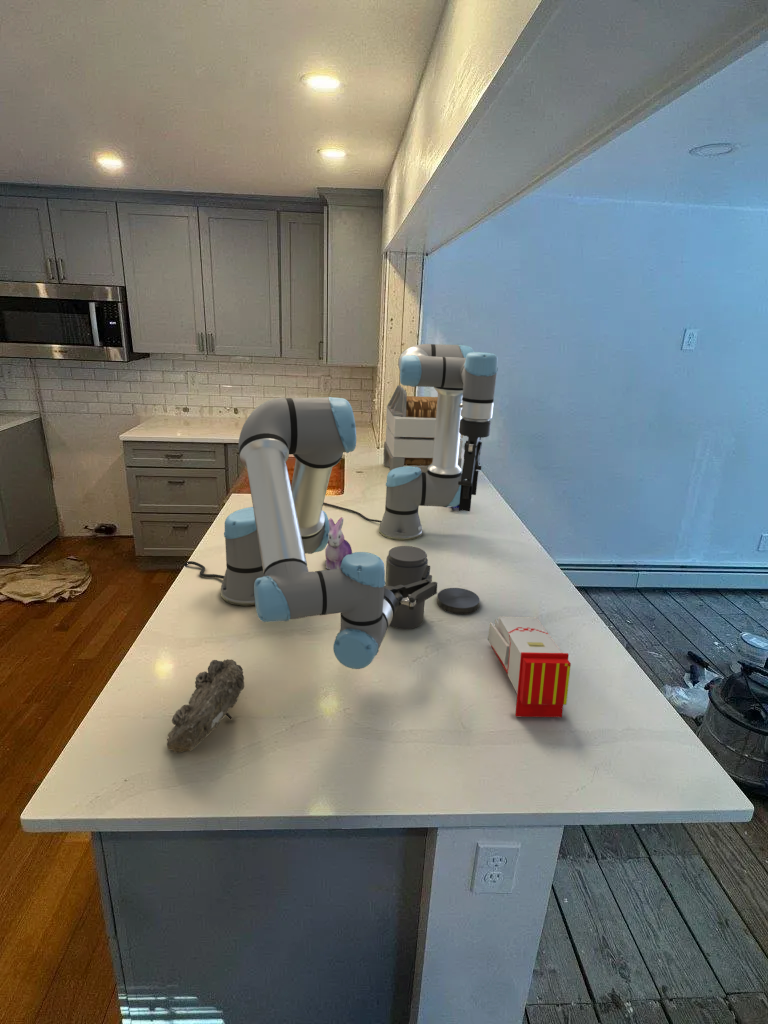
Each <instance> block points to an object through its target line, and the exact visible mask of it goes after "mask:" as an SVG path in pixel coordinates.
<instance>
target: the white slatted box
mask: <svg viewBox="0 0 768 1024" xmlns="http://www.w3.org/2000/svg"><path fill="white" fill-rule="evenodd" d="M407 394H408V393H407V390H406V389H404V388H403V387H402V385H399V384H398V385H397V386H396V388H395V390H394V392H393V394H392V395H391V398H390V400H389V402H388V404H387V405H386V413H385V414H386V415H385V423H386V428H385V438H384V442H383V466H384V467H388V468H389V472H390V471H391V470H392V469H395V468H398V467H405V466H413V467H428V466H429V465H430V464H432V462H433V450H434V437H435V424H436V411H437V398H438V396H415V395H414V396H413V395H412V396H411V395H407ZM463 438H464V436H463V435H461V434H460V444H459V455H458V466H459V467H460V468H461V469H462V461H463V460H462V453H463V442H464V441H463V440H462V439H463Z"/></svg>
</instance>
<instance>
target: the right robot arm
mask: <svg viewBox="0 0 768 1024" xmlns="http://www.w3.org/2000/svg"><path fill="white" fill-rule="evenodd" d="M498 361H499V357H498V356H497V354H495V353H492V352H481V351H480V352H479V351H475V350H474V349H473V347H471V346H469V345H463V344H440V343H439V344H438V343H437V344H436V343H435V344H434V343H421V344H420V343H419V344H416V345H413V346H409V347H407V348H406V349H405V350H403V351H402V352H401V353H400V355H399V357H398V363H397V366H398V369H399V382H400V384H401V386H407V387H412V388H413V387H414V388H415V387H419V388H420V387H421V388H422V387H425V388H429V387H430V388H433V389H434V390H435V391H436V393H437V397H438V398H437V411H436V424H435V437H434V450H433V462H432V464H430V465H428V466H427V471H426V472H424V471H423V472H422V469H421V468H420V467H419V466H407V465H404V467H398V468H395V469H392V470H391V471H390V470H389V471H388V473H387V475H386V482H385V487H386V488H385V489H386V490H385V504H384V505H385V507H384V508H385V509H384V513H383V515H382V519H381V520H379V519H375V518H374V519H373V518H368V517H366V516H365V515H363V513H361V512H359V511H356V510H353V509H350V508H348V507H347V508H346V507H342V506H339V505H335V504H331V503H327V502H324V503H323V506H324V505H325V506H327V507H332V508H336V509H340V510H343V511H347V512H350V513H353V514H356V515H358V516H360V517H361V518H363V519H365V520H366V521H369V522H375V523H379V527H378V533H379V534H380V535H381V536H382V537H385V538H387V539H389V540H395V541H410V540H415V539H418V538H420V537H421V536H422V535H423V525H422V524H421V518H420V515H419V507H441V508H443V507H444V508H451V507H455V506H458V505H459V509H458V511H459V510H460V511H463V512H471V509H472V508H471V507H472V497H473V496H476V495H477V489H478V478H479V471H482V465H480V464H481V463H480V462H481V461H480V459H481V451H482V448H483V441H482V438H483V439H484V438H487V437H489V436H491V430H492V429H491V428H492V421H491V419H493V413H494V406H495V405H494V403H495V401H494V399H495V392H496V383H497V376H498V375H497V373H498V369H499V367H498ZM460 434H461V435H463V437H467V438H468V439H467V440H465V443H464V444H463V445H464V446H463V447H464V448H463V449H464V453H463V463H462V467H461V468H460V467H459V466H458V455H459V444H460V439H461V438H460Z"/></svg>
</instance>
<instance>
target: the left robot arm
mask: <svg viewBox="0 0 768 1024" xmlns="http://www.w3.org/2000/svg"><path fill="white" fill-rule="evenodd" d="M356 447H357V425H356V419H355V414H354V410H353V407H352V405H351V403H350V402H349V400H348V399H346V398H343V397H332V396H328V397H276V398H271V399H269V400H266V401H264V402H263V403H261V404H260V405H258V406H257V407H256V408H255V409H254V410H253V411H252V412H251V413H250V414H249V416H248V417H247V418H246V419H245V422H244V424H242V428H241V431H240V433H239V438H238V456H239V461H240V463H241V465H242V466H243V467H244V468H245V469H246V470H247V477H248V478H247V479H248V484H249V490H250V491H249V492H250V496H251V502H252V506H250V507H244V508H240V509H237V510H234V511H233V512H231V513H230V514H229V515H227V517H226V518H225V520H224V533H223V537H224V539H225V543H224V544H225V561H226V569H225V572H224V575H222V574H216V573H205V571H206V567H205V566H204V565H203V564H201V563H199V562H198V561H197V562H196V561H192V560H188V561H186V562H184V563H183V567H184V566H185V567H186V566H188V565H194V566H197V567H198V568H200V569H201V570H200V571H199V576H200V577H202V578H216V579H222V582H221V586H220V596H221V598H222V599H223V601H224V602H226V603H228V604H231V605H236V606H241V607H243V606H244V607H249V606H255V611H256V616H257V617H258V619H259V620H260V621H261V622H263V623H272V622H273V623H274V622H289V621H291V620H296V619H304V618H309V617H316V616H326V615H333V614H340V626H339V627H340V629H339V632H338V633H337V634H336V636H335V639H334V642H333V645H332V646H333V647H332V651H333V654H334V657H335V659H336V660H337V661H338V662H339V663H340V664H341V665H342V666H344V667H346V668H348V669H352V670H362V669H365V668H366V667H368V666H370V665H371V663H373V661H374V659H375V658H376V656H377V655H378V653H379V650H380V647H381V644H382V643H383V640H384V638H385V636H386V633H387V632H388V629H389V628H390V623H391V621H392V619H393V617H394V615H395V613H396V611H397V608H398V607H399V606H401V605H402V604H404V605H408V608H409V609H410V610H413V609H414V608H415V607H416V605H418V604H420V603H421V602H423V601H425V602H426V600H428V599H431V598H432V597H434V596H435V595H438V582H437V581H433V575H432V574H431V565H427V567H426V569H425V571H424V573H423V576H422V580H421V581H418V582H415V583H412V584H408V585H405V586H403V585H398V586H394V587H393V586H385V578H386V569H385V563H384V560H383V559H382V558H381V557H379V556H378V555H377V554H374V553H371V552H366V551H355V552H352V554H348V555H346V556H345V557H344V558H343V560H342V563H341V568H340V569H332V570H331V569H324V570H314V571H309V568H308V562H307V557H306V555H312V554H314V553H320V552H322V551H323V550H325V549H326V548H327V546H328V544H327V543H328V539H329V535H328V534H329V516H328V515H327V513H326V512H325V510H323V506H324V504H323V503H325V498H326V495H327V491H328V486H329V482H330V479H331V476H332V475H331V474H332V471H333V467H336V466H337V465H338V464H339V463H340V461H341V460H342V459H343V455H344V453H346V454H349V453H352V452H354V451H355V449H356ZM290 455H292V456H293V457H294V458H295V461H294V462H295V463H294V468H293V475H292V480H291V481H290V475H289V471H288V466H287V461H288V460H289V458H290V457H289V456H290ZM187 563H188V564H187Z"/></svg>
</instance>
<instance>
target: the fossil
mask: <svg viewBox="0 0 768 1024" xmlns="http://www.w3.org/2000/svg"><path fill="white" fill-rule="evenodd" d="M243 670H244V669H243V667H242V665H240V664H237V662H236V661H235V660H234V659H232V658H231V659H227V658H226V659H224V660H223V661H222V660H217V659H212V660H211V661H210V663H209V665H208V666H207V671H201V672H199V673H198V674H197V675H196V676H195V680H194V684H195V685H194V687H195V689H194V690H193V693H192V694H191V697H190V698H189V700H188V704H184V705H182V706H181V707H180V709H177V710H176V711H175V713H174V715H173V716H172V718H171V723H172V724H173V727H172V730H171V731H170V732H168V734H167V738H166V741H167V742H166V745H167V749H168V750H169V751H173V752H174V753H176V754H178V753H182V752H188V751H189V752H192V751H193V750H195V748H196V747H197V746H199V744H200V743H201V742H203V741H204V740H205V739H206V738H207V737H208V736H209V735H210V734H211V733H212V732H214V730H215V729H217V727H218V726H219V724H220V722H221V721H222V720H223V719H224V718H225V716H226V717H227V719H229V720H233V717H232V715H230V714H229V710H230V709H231V708H234V706H235V704H236V703H237V702H238V699H239V697H240V695H241V693H242V691H243V690H245V689H244V688H245V675H244V671H243Z"/></svg>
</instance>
